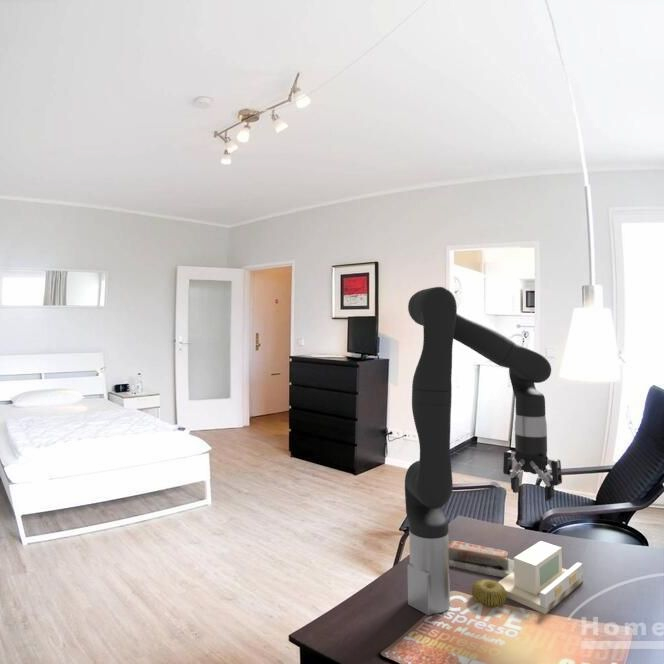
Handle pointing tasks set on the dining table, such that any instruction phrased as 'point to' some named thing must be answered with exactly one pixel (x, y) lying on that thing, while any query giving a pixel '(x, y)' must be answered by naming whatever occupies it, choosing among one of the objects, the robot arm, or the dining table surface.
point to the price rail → (561, 584)
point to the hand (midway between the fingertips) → (531, 496)
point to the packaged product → (480, 559)
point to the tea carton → (537, 567)
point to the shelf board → (532, 599)
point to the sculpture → (489, 593)
